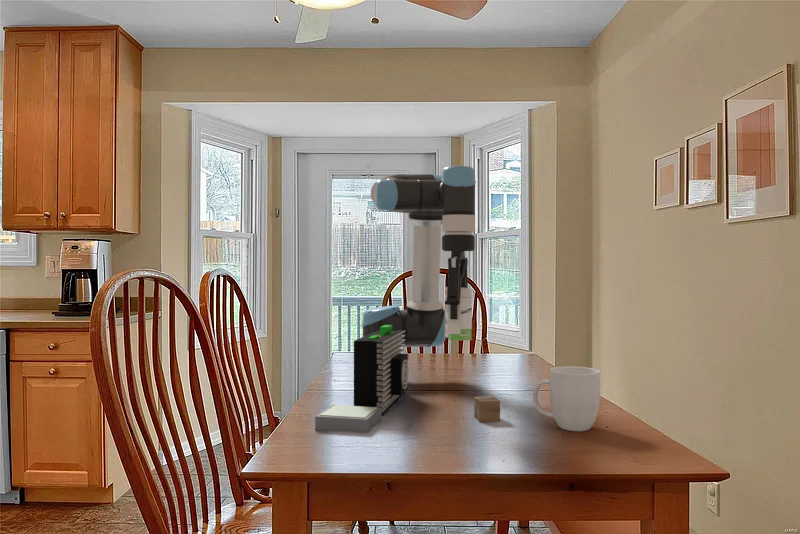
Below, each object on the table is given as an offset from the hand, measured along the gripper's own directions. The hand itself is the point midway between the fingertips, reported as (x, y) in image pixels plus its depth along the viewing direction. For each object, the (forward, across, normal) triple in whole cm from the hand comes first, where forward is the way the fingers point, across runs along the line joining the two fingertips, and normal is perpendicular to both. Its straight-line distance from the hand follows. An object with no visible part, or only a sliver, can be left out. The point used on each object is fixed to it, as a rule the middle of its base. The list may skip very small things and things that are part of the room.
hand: (457, 331), depth 151 cm
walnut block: (+22, -5, +6) cm, 23 cm away
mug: (+21, -2, +25) cm, 33 cm away
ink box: (+2, 0, 0) cm, 2 cm away
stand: (+21, +8, -24) cm, 33 cm away
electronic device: (+22, -16, -22) cm, 35 cm away
